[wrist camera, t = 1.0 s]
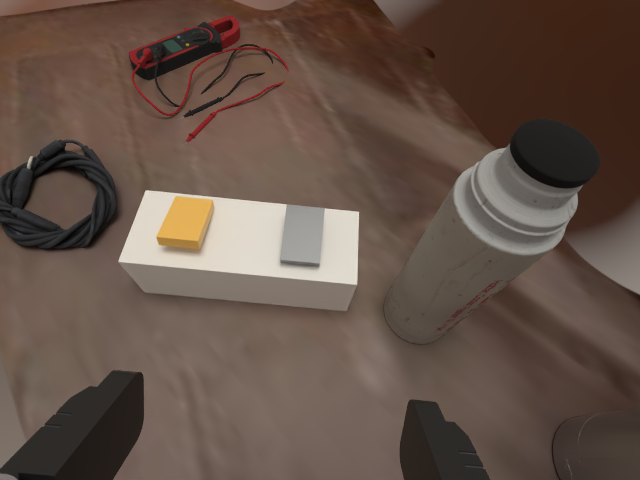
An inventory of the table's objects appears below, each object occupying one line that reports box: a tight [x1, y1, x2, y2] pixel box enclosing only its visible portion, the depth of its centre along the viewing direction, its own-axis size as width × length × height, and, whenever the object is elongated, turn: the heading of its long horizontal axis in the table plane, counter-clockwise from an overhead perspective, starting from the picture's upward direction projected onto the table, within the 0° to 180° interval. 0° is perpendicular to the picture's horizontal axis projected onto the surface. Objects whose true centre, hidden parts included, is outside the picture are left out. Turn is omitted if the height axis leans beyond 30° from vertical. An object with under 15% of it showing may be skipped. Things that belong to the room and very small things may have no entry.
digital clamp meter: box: [129, 16, 288, 147], centre depth 63 cm, size 23×4×25 cm
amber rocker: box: [156, 196, 214, 249], centre depth 39 cm, size 4×6×2 cm, turn 176°
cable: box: [0, 140, 116, 248], centre depth 48 cm, size 17×14×4 cm
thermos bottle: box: [384, 119, 600, 344], centre depth 33 cm, size 8×8×28 cm
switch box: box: [118, 190, 359, 311], centre depth 43 cm, size 24×9×8 cm, turn 86°
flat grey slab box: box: [280, 205, 325, 266], centre depth 39 cm, size 4×6×2 cm, turn 176°
